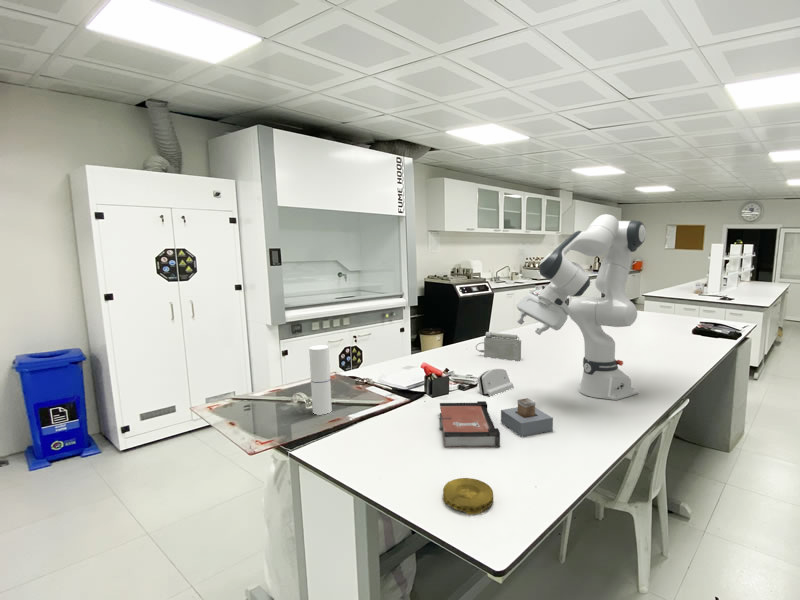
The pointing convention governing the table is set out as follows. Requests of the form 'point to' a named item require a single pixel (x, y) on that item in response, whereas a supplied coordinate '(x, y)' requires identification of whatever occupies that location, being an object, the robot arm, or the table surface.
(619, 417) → the table surface
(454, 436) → the book
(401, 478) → the table surface
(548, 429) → the socket block
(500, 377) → the hinge
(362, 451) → the table surface
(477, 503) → the gold round disc
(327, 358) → the cylindrical container
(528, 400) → the peg
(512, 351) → the geiger counter
